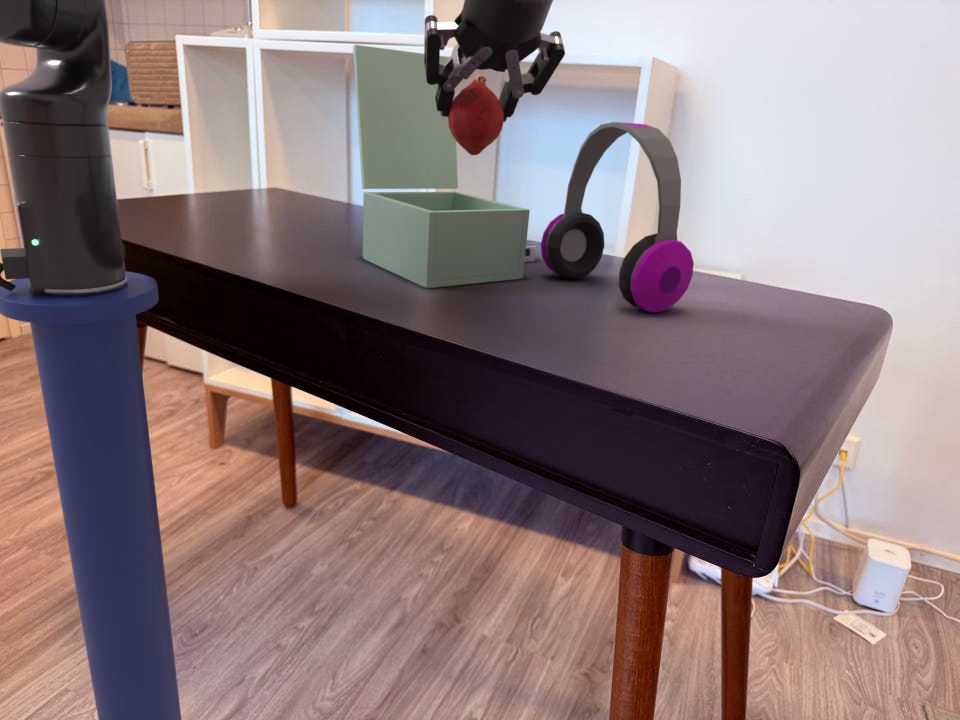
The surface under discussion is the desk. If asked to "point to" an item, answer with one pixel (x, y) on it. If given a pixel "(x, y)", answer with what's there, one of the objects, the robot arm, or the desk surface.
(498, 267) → the box body
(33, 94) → the robot arm
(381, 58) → the lid
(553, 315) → the desk surface
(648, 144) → the headphones
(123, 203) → the desk surface
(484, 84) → the red fruit
